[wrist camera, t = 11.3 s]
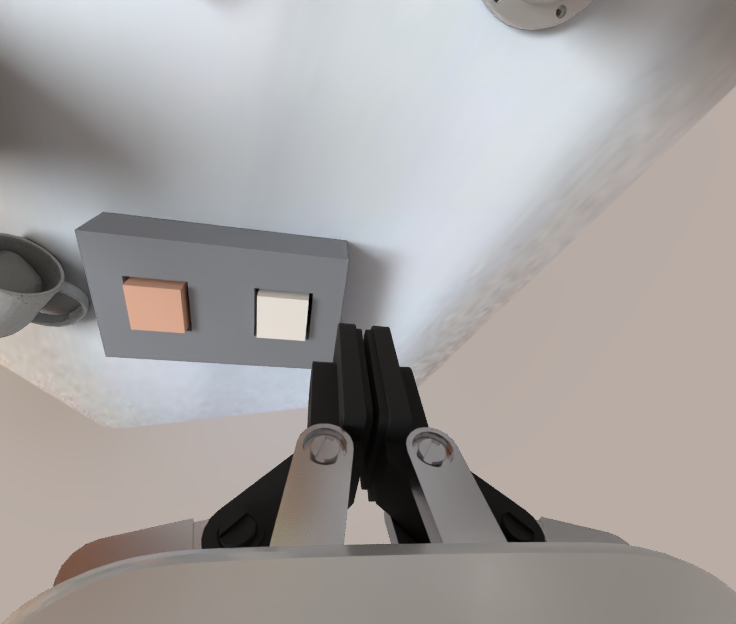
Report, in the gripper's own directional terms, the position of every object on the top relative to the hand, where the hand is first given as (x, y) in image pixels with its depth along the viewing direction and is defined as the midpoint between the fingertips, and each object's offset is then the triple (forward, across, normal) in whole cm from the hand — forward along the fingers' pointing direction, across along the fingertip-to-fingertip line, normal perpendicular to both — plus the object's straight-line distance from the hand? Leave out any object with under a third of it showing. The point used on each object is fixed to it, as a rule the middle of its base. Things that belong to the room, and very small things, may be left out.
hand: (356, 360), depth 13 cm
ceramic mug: (+29, +30, +15) cm, 44 cm away
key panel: (+29, +10, +14) cm, 34 cm away
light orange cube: (+28, +16, +14) cm, 35 cm away
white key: (+28, +4, +14) cm, 32 cm away
